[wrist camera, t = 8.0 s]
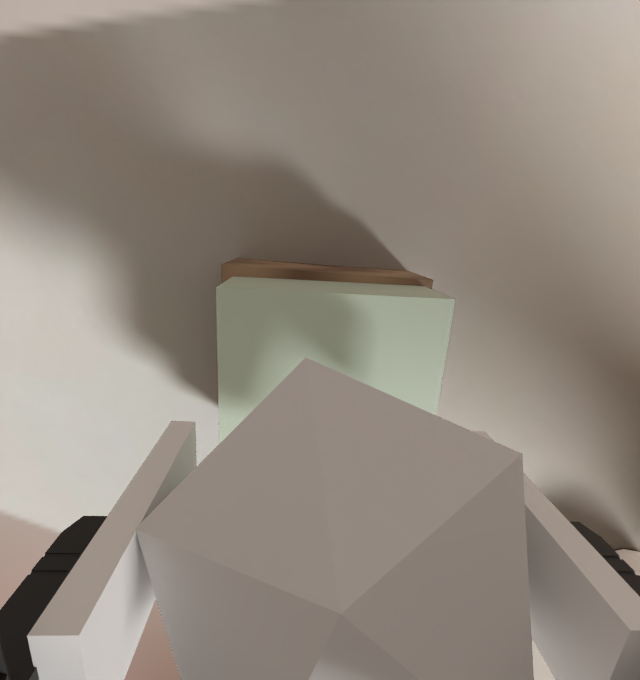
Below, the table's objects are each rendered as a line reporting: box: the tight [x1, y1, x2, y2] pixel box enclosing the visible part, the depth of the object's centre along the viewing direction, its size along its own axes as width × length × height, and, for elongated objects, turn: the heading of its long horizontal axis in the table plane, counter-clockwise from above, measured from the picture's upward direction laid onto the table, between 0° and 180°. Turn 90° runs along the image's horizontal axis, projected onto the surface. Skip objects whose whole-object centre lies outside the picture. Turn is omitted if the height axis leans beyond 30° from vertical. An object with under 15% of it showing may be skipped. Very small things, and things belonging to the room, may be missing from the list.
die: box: [135, 357, 534, 680], centre depth 9 cm, size 8×9×10 cm
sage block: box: [216, 276, 455, 444], centre depth 18 cm, size 10×10×4 cm
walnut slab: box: [222, 259, 433, 289], centre depth 23 cm, size 11×11×5 cm
